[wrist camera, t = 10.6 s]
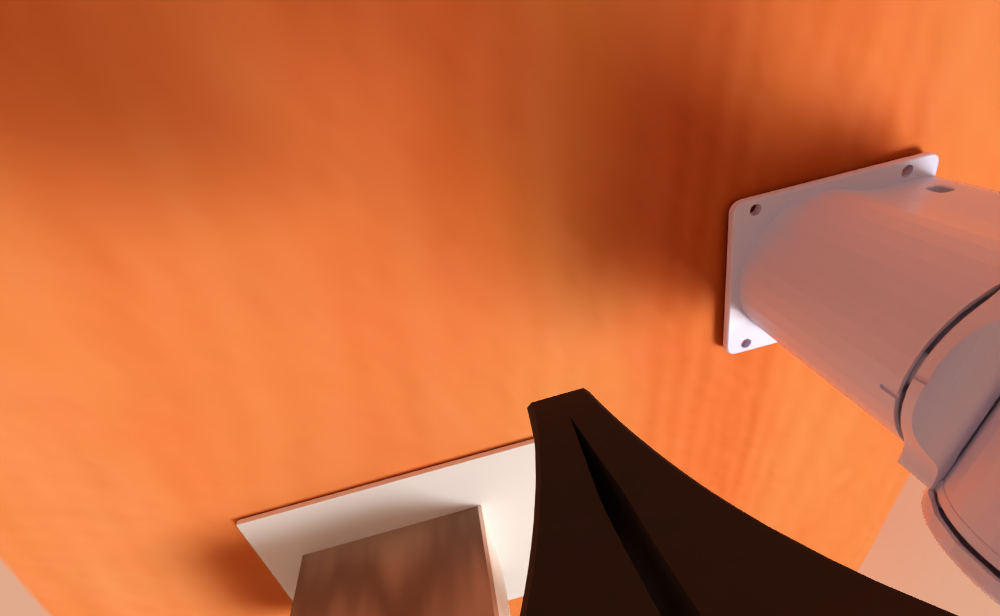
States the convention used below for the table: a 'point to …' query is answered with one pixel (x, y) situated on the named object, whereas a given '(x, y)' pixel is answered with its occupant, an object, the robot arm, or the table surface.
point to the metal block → (408, 572)
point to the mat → (409, 512)
